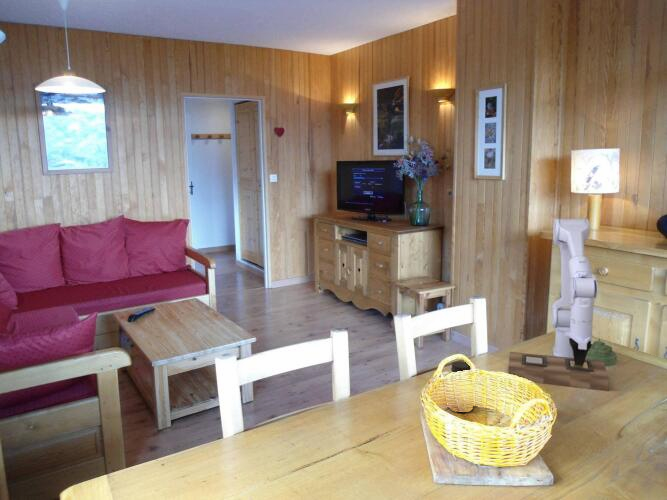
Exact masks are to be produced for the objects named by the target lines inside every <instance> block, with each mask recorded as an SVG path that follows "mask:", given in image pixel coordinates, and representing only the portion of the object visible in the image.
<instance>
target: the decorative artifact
mask: <svg viewBox="0 0 667 500" xmlns="http://www.w3.org/2000/svg"><path fill="white" fill-rule="evenodd" d="M591 345H592V346H591V348H590V349H589V351H588V352H587V355H586V358H585V359H589V360H600V361H603V362H604V365H605V367H612V366H614V365H616V364H617V356H618V355H617V353H616V352H615V351H614V350H613V347H612V346H611V345H609V344H606V343H605V342H604V341H601V339H600V338H598V340H595V341H593V343H591Z"/></svg>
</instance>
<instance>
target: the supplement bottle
mask: <svg viewBox="0 0 667 500" xmlns="http://www.w3.org/2000/svg"><path fill="white" fill-rule="evenodd" d="M466 362H467V361H464V360H458V361H453V362H452V363H451V368H450V371H451V372H457V371H463V370H470V369H471V370H472V368H470V366H469V365H468V364H467V363H466Z"/></svg>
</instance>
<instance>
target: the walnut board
mask: <svg viewBox="0 0 667 500" xmlns="http://www.w3.org/2000/svg"><path fill="white" fill-rule="evenodd" d="M526 356H527V357H537V358H542V364H537V363H527V362H526ZM570 361H574V358H569V357H558V356H553V355H546V354H539V353H538V354H535V353H527V352H525V353H524V352H516V351H509V358H508V365H507V366H508V367H507V369H508V370H507V374H508V373H509V374H513V375H517V376H519V377H523V378H526V379H528V380H531V381H533V382H535V383H534V384H541V385H551V386H558V387H559V386H561V387H569V388H578V389H585V390H596V391H603V392H608V391H609V379H610V377H609V374H608V371H607V369H606V366H605V365H604V362H603V361H600V360H589V359H585V361H584V362H587V365H588V369H586V368H576V367H570V366H569V365H570ZM533 382H532V383H533Z"/></svg>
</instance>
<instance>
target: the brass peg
mask: <svg viewBox="0 0 667 500" xmlns="http://www.w3.org/2000/svg"><path fill="white" fill-rule="evenodd" d="M569 366H570V367H576V368H586V369H588V365H587V362H584V364H583V366H580V365H575V362H574V361H570V365H569Z"/></svg>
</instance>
